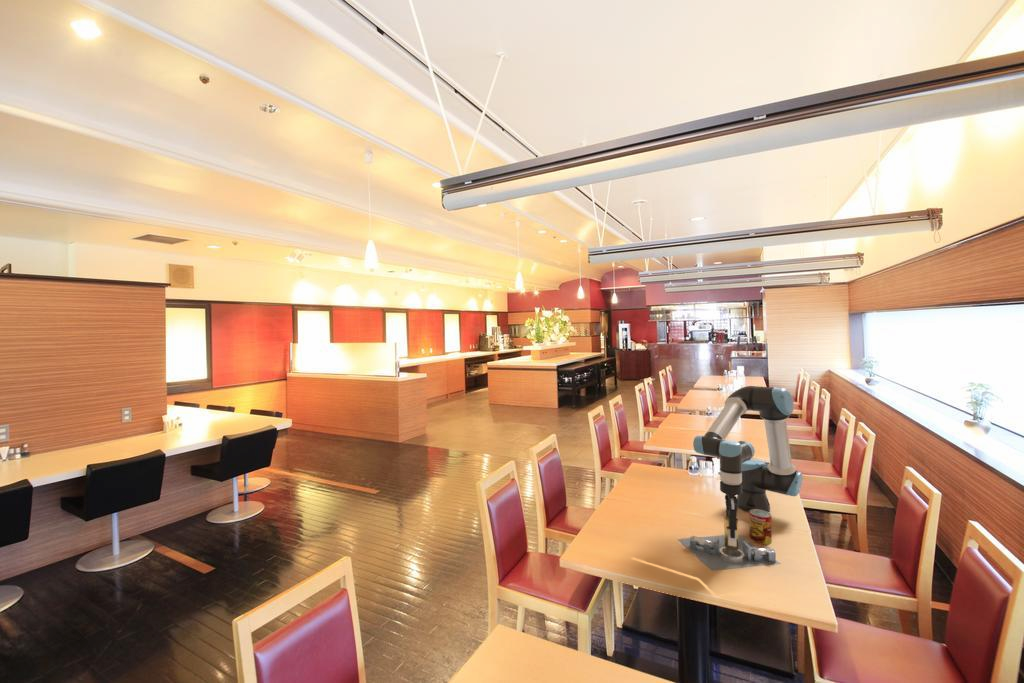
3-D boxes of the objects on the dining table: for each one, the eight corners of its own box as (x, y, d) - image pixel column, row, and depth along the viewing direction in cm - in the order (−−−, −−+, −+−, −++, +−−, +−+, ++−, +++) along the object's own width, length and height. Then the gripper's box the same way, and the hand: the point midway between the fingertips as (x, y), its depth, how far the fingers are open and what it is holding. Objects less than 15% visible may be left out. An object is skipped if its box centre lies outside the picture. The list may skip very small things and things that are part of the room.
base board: (738, 535, 179) (737, 533, 179) (781, 565, 155) (781, 563, 155) (677, 541, 175) (677, 539, 175) (711, 572, 151) (711, 570, 151)
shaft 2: (748, 561, 157) (748, 547, 157) (742, 554, 162) (742, 541, 162) (776, 562, 156) (776, 548, 156) (770, 556, 160) (770, 542, 160)
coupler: (737, 545, 161) (737, 517, 161) (739, 551, 157) (738, 522, 157) (724, 543, 163) (723, 515, 163) (725, 549, 159) (724, 520, 159)
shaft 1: (719, 551, 165) (719, 537, 165) (716, 556, 161) (716, 542, 161) (692, 543, 171) (692, 530, 171) (689, 548, 167) (689, 535, 167)
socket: (734, 550, 165) (734, 545, 165) (749, 562, 156) (749, 556, 156) (715, 552, 164) (715, 547, 164) (729, 564, 155) (728, 558, 155)
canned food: (745, 539, 176) (745, 511, 176) (758, 535, 179) (757, 507, 179) (763, 547, 168) (762, 518, 168) (776, 543, 172) (775, 514, 171)
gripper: (718, 473, 169) (718, 530, 169) (721, 488, 153) (722, 551, 153) (738, 475, 167) (739, 533, 167) (745, 491, 150) (745, 555, 150)
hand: (731, 542), depth 160 cm, fingers closed on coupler, 5 cm apart
